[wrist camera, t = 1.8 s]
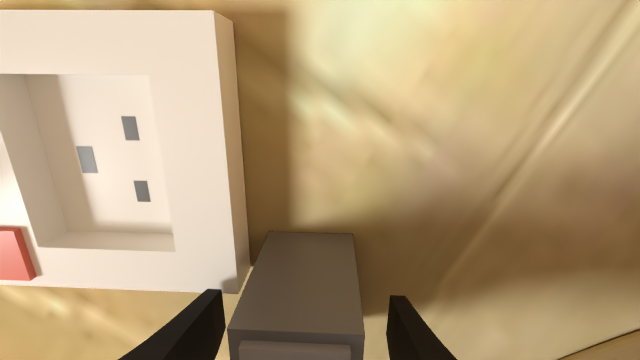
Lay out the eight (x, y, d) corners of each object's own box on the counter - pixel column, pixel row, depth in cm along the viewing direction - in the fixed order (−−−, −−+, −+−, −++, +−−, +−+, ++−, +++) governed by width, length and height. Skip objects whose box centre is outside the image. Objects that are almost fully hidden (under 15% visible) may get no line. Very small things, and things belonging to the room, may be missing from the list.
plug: (352, 233, 14) (365, 343, 8) (348, 318, 16) (356, 461, 10) (268, 231, 14) (223, 337, 9) (273, 315, 16) (237, 454, 10)
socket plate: (232, 21, 12) (209, 8, 9) (250, 267, 15) (236, 298, 13) (-40, 20, 12) (-123, 7, 10) (38, 259, 16) (-10, 288, 13)
